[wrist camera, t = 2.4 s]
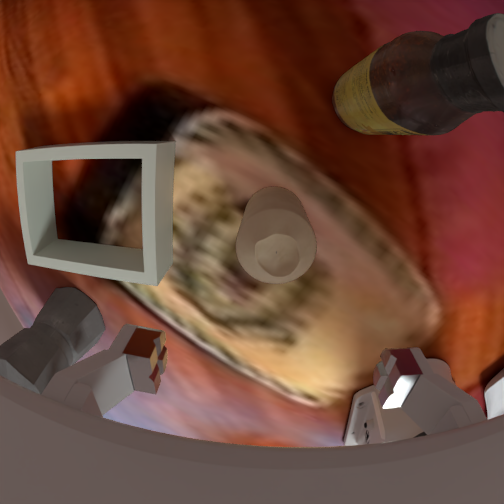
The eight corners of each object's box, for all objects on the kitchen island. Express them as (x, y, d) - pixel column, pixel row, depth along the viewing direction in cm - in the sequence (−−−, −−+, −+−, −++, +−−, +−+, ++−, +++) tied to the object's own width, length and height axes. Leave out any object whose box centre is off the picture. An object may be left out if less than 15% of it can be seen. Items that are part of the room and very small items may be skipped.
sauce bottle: (358, 147, 25) (511, 190, 7) (315, 93, 24) (416, 19, 5) (406, 109, 23) (576, 110, 5) (366, 57, 22) (505, -24, 4)
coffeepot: (44, 323, 36) (-23, 402, 19) (39, 270, 32) (-50, 347, 16) (133, 362, 37) (82, 468, 20) (137, 309, 33) (66, 427, 17)
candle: (233, 216, 29) (215, 259, 19) (272, 173, 27) (274, 195, 18) (275, 252, 30) (278, 308, 21) (315, 213, 28) (337, 254, 19)
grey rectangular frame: (172, 263, 31) (157, 286, 26) (52, 247, 31) (27, 263, 26) (175, 141, 26) (156, 143, 21) (44, 145, 26) (15, 151, 22)
